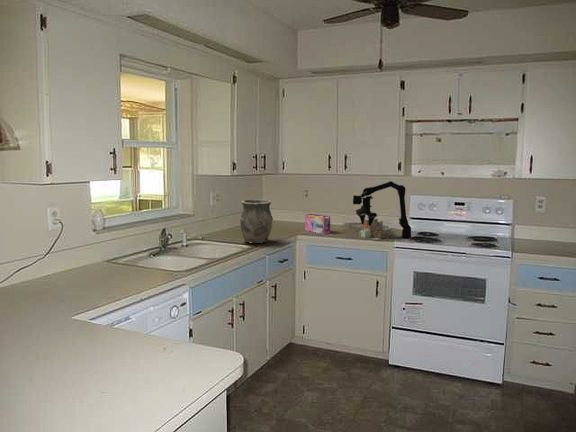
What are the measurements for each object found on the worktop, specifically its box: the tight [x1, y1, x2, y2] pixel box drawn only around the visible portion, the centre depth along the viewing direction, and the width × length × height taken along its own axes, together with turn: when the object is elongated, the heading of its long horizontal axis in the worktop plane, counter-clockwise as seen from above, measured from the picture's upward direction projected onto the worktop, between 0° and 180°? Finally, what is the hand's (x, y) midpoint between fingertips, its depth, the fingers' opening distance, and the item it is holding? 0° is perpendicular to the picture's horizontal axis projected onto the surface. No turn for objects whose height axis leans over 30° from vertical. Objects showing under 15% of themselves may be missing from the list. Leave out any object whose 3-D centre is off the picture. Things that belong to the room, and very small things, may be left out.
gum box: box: [304, 213, 331, 235], centre depth 383 cm, size 24×8×14 cm, turn 40°
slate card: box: [369, 237, 384, 242], centre depth 350 cm, size 7×7×1 cm
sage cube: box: [360, 229, 372, 239], centre depth 361 cm, size 5×5×5 cm
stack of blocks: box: [363, 217, 384, 237], centre depth 377 cm, size 21×6×12 cm, turn 143°
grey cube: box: [382, 227, 392, 236], centre depth 370 cm, size 5×5×5 cm
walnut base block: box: [373, 231, 390, 239], centre depth 359 cm, size 8×8×4 cm
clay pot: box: [239, 198, 274, 244], centre depth 338 cm, size 22×23×30 cm
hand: (366, 225), depth 360 cm, fingers open, 9 cm apart
